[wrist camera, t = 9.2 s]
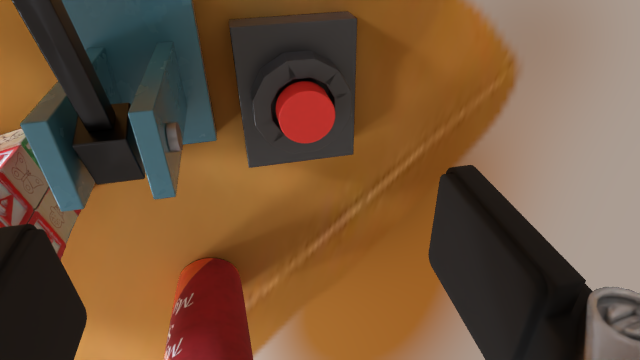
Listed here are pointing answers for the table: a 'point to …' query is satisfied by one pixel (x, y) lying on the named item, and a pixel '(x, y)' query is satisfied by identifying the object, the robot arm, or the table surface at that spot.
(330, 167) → the table surface
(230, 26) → the control block
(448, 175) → the robot arm
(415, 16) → the table surface
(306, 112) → the button
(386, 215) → the table surface
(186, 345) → the paper cup
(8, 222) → the stack of blocks
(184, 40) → the bracket
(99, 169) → the lever
